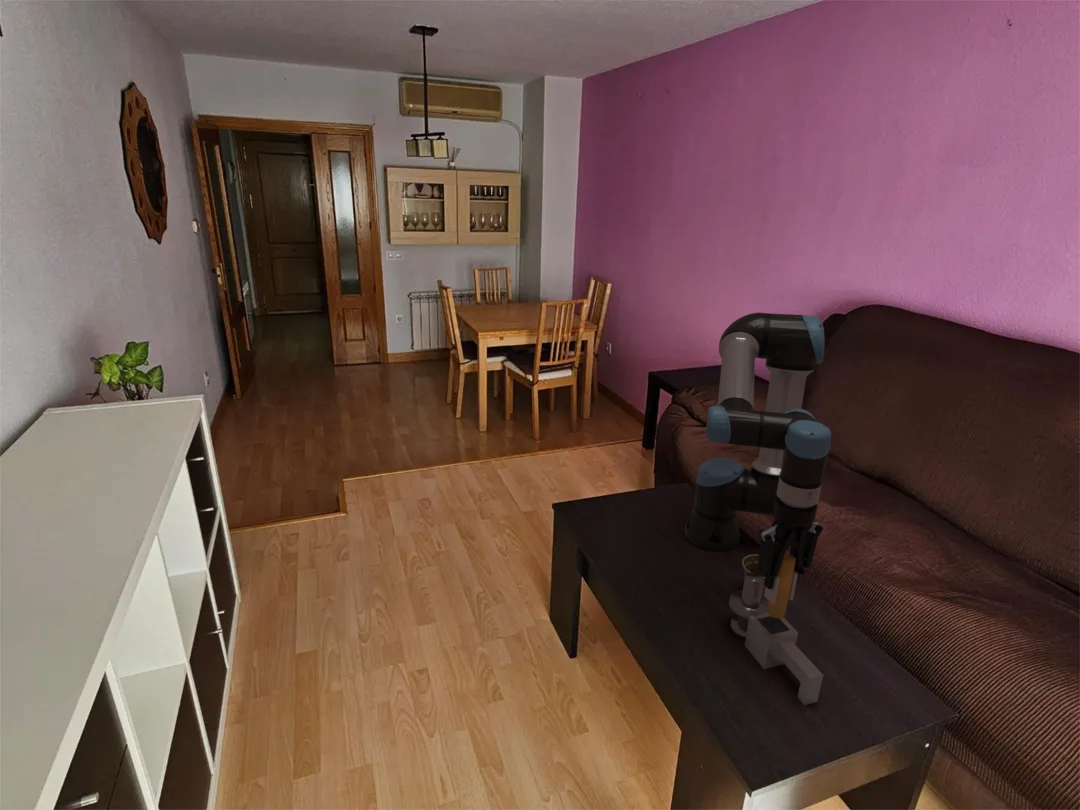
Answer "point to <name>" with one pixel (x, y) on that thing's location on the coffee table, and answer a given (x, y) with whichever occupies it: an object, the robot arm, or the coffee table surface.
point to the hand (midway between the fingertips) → (778, 597)
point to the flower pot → (753, 567)
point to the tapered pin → (783, 587)
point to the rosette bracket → (771, 637)
